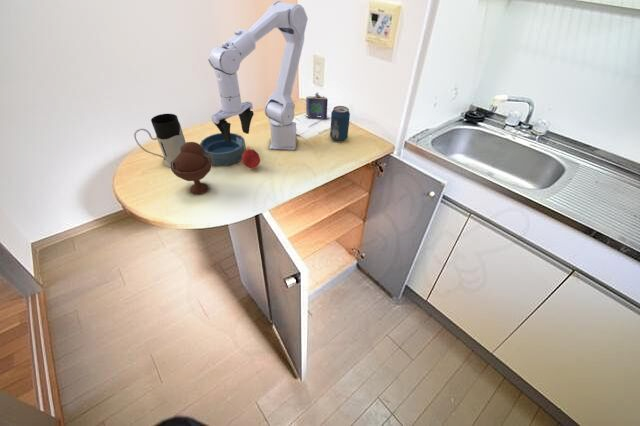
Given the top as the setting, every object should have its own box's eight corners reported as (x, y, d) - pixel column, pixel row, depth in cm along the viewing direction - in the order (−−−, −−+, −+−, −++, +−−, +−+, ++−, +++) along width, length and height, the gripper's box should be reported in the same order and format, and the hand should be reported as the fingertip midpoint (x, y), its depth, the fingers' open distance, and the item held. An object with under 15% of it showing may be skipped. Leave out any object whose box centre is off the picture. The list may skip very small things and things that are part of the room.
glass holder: (196, 161, 100) (183, 119, 90) (153, 176, 93) (134, 132, 83) (186, 151, 104) (173, 110, 94) (144, 164, 97) (125, 122, 87)
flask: (305, 118, 128) (305, 93, 121) (306, 115, 131) (306, 91, 124) (326, 119, 128) (327, 95, 121) (327, 117, 130) (328, 92, 123)
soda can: (346, 134, 118) (349, 105, 110) (348, 143, 113) (351, 113, 105) (329, 134, 118) (331, 105, 110) (330, 142, 112) (332, 112, 104)
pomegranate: (263, 164, 100) (260, 143, 94) (258, 174, 95) (255, 152, 90) (246, 163, 100) (243, 142, 95) (241, 172, 96) (237, 151, 90)
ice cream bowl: (184, 179, 92) (170, 135, 82) (220, 178, 93) (210, 135, 83) (175, 200, 84) (157, 155, 74) (214, 199, 85) (202, 154, 75)
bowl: (250, 145, 109) (248, 133, 106) (242, 167, 98) (239, 154, 95) (210, 144, 109) (207, 132, 105) (197, 166, 98) (193, 153, 94)
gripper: (239, 84, 91) (245, 125, 100) (200, 98, 82) (210, 141, 91) (255, 89, 88) (260, 131, 97) (217, 104, 79) (226, 148, 88)
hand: (237, 137), depth 94 cm, fingers open, 7 cm apart
